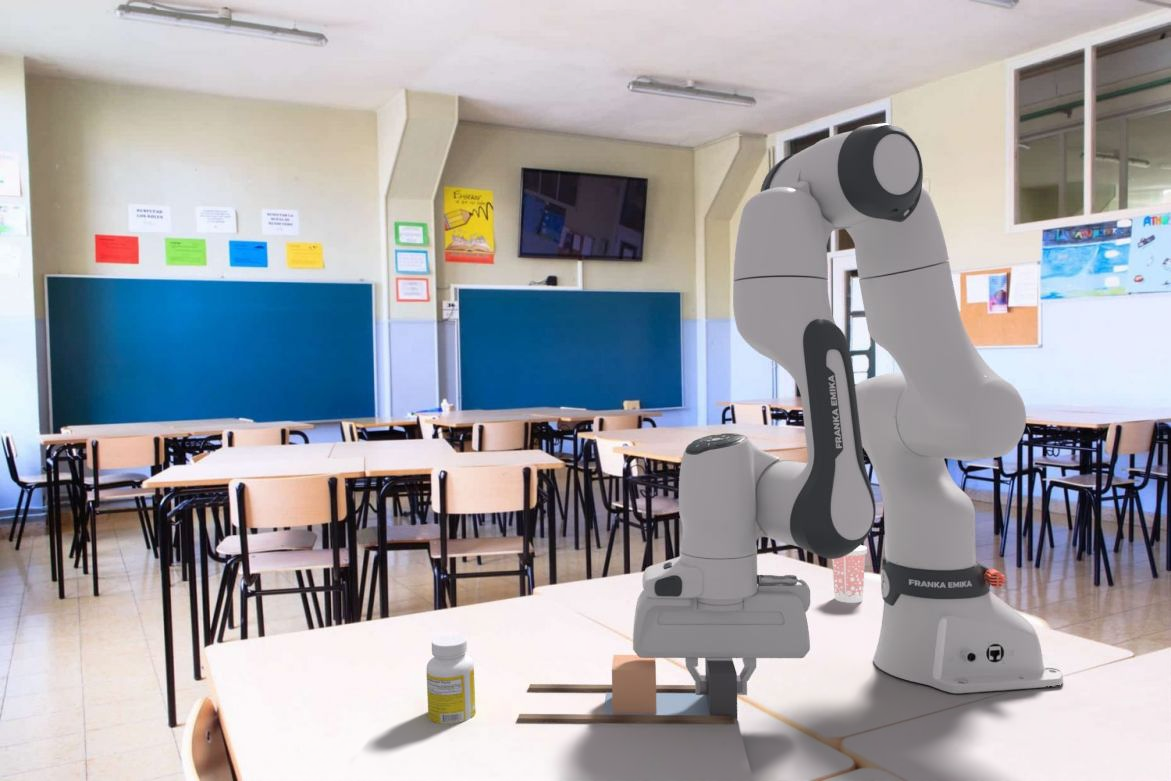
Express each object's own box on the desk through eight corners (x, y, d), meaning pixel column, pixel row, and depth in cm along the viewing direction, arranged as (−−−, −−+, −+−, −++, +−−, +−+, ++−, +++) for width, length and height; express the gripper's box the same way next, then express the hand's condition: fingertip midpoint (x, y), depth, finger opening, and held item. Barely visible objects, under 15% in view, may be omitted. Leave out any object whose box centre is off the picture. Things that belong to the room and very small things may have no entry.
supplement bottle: (453, 710, 101) (451, 629, 100) (485, 722, 97) (483, 638, 97) (418, 726, 96) (415, 641, 96) (450, 738, 93) (447, 651, 93)
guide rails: (725, 698, 102) (725, 685, 102) (734, 734, 92) (733, 720, 92) (530, 696, 104) (530, 684, 104) (518, 732, 94) (517, 718, 94)
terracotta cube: (656, 696, 100) (655, 655, 100) (656, 713, 95) (655, 670, 95) (614, 695, 101) (613, 654, 101) (612, 713, 96) (611, 670, 96)
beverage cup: (871, 596, 144) (870, 516, 144) (862, 606, 139) (861, 522, 139) (835, 592, 148) (834, 513, 147) (825, 601, 143) (824, 519, 142)
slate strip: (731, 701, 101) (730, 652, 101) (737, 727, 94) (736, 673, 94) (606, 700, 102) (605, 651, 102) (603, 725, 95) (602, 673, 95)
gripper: (804, 568, 99) (806, 683, 100) (631, 569, 101) (634, 682, 101) (815, 582, 93) (817, 705, 94) (631, 582, 95) (633, 703, 95)
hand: (720, 693), depth 97 cm, fingers closed on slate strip, 3 cm apart
